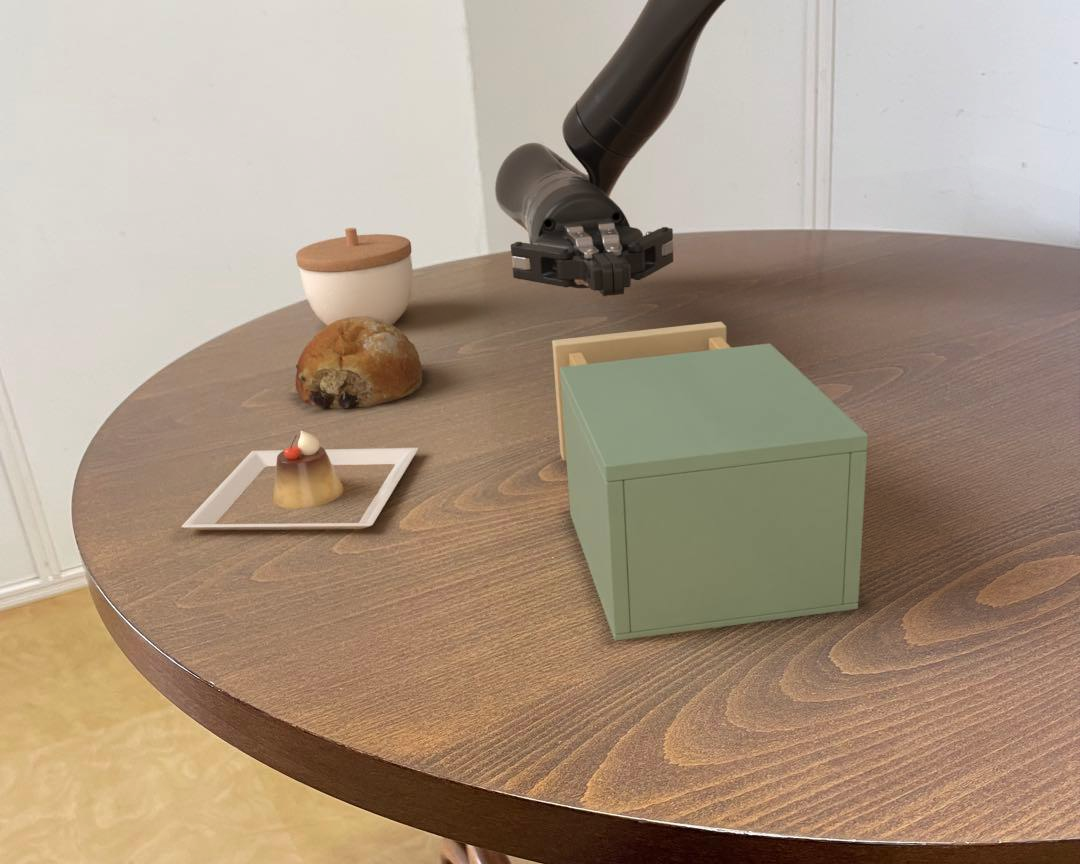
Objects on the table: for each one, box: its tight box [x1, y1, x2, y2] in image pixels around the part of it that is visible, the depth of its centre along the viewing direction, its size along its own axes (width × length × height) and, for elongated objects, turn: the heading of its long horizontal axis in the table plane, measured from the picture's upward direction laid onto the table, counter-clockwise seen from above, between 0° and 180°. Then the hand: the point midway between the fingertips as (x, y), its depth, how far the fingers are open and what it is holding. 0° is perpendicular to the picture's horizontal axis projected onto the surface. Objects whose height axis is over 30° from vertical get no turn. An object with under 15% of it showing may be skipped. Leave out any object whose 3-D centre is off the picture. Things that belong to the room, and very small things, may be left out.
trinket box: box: [295, 227, 414, 326], centre depth 107 cm, size 11×11×9 cm
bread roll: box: [295, 316, 423, 410], centre depth 90 cm, size 10×10×8 cm
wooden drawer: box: [551, 321, 732, 462], centre depth 69 cm, size 18×11×8 cm, turn 7°
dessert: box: [181, 430, 419, 531], centre depth 72 cm, size 12×12×5 cm
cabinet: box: [560, 342, 869, 641], centre depth 59 cm, size 15×12×10 cm
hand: (613, 280), depth 77 cm, fingers closed
